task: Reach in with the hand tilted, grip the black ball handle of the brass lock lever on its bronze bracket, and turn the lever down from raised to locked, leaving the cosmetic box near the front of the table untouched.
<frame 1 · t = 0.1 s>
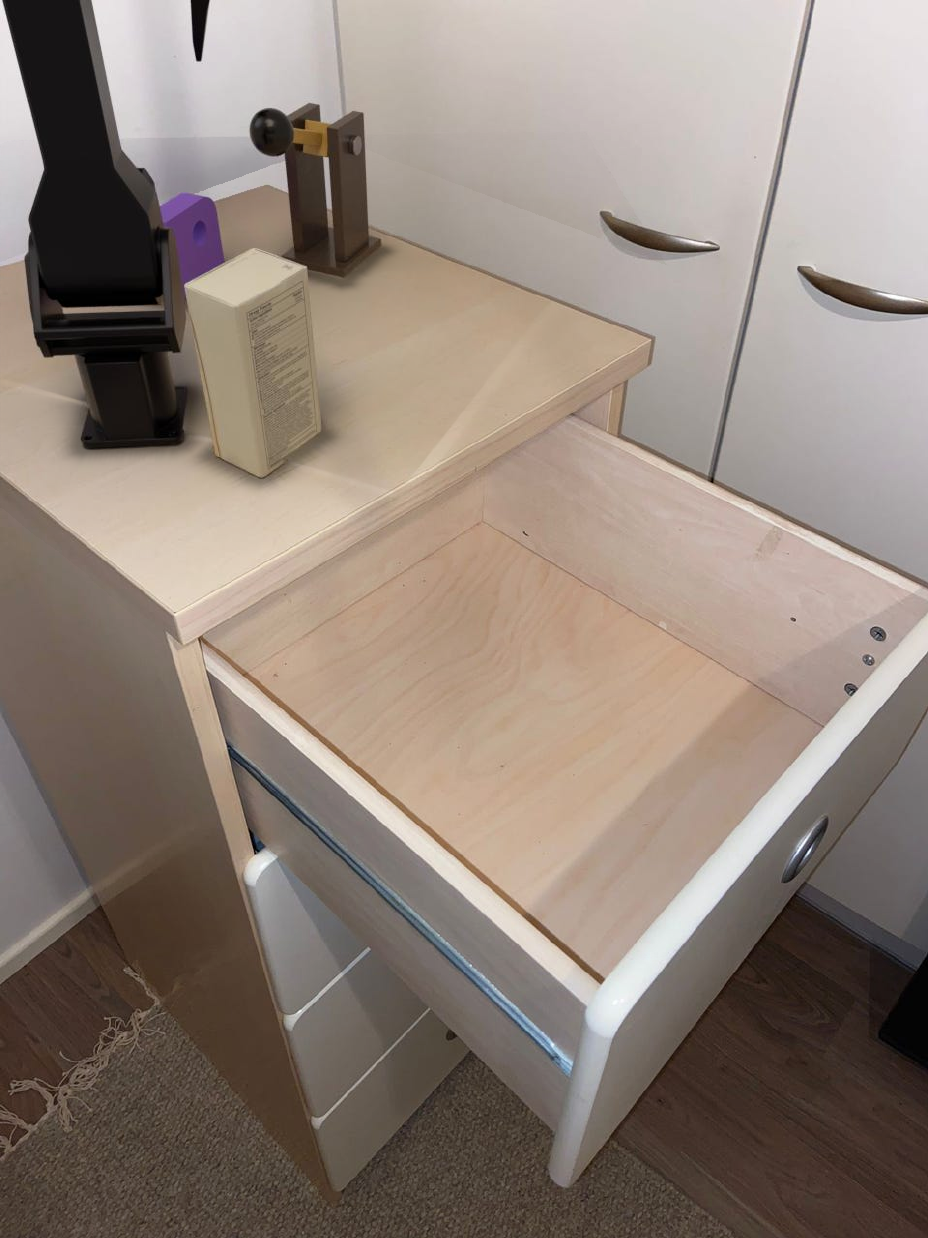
hand: (139, 60, 77), 15 cm above the table, tool pointing down, fingers open, 9 cm apart
bracket: (142, 278, 82), on the table
lock lever: (298, 135, 75), point 11 cm above the table, hinge at 20.0°
lock bracket: (332, 260, 85), on the table
cosmetic box: (270, 450, 65), on the table
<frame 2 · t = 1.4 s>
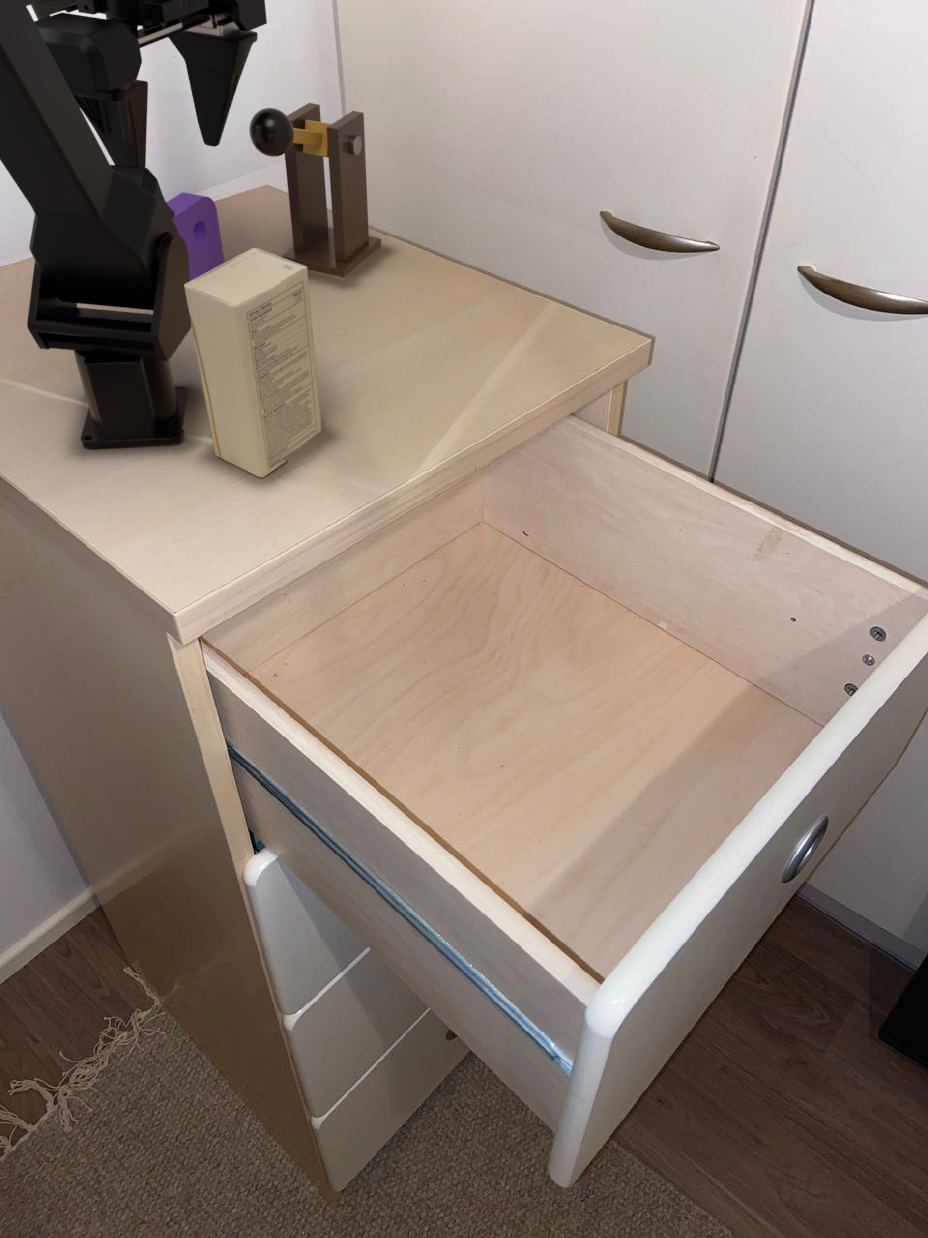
hand: (175, 165, 68), 12 cm above the table, tool pointing down, fingers open, 9 cm apart
nothing on the table moved.
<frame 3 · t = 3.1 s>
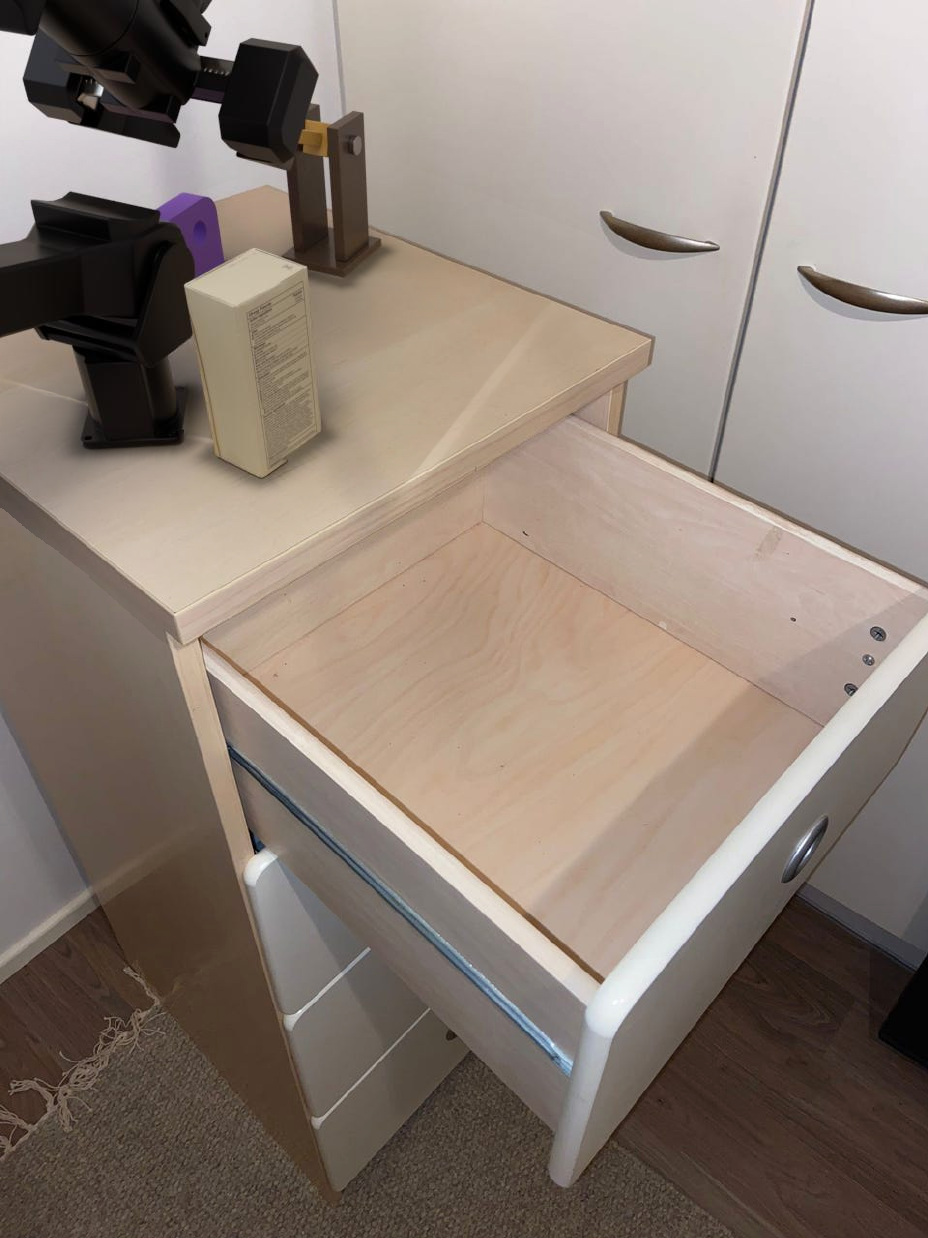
hand: (232, 151, 68), 13 cm above the table, tool tilted 45°, fingers open, 9 cm apart
nothing on the table moved.
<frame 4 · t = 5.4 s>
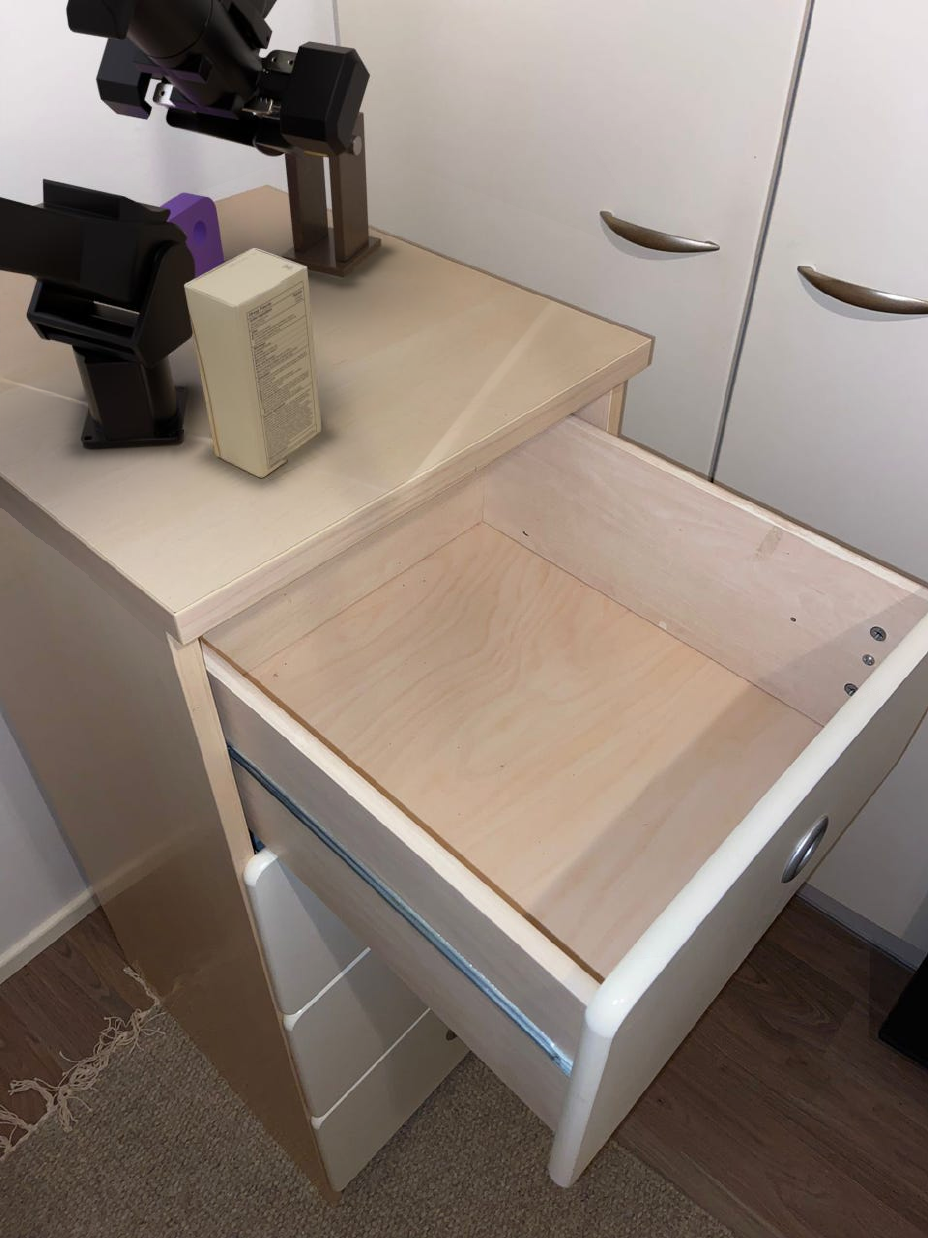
hand: (283, 146, 73), 11 cm above the table, tool tilted 45°, fingers closed on lock lever, 3 cm apart
lock lever: (298, 135, 75), point 11 cm above the table, hinge at 20.0°, touching gripper
everything else where it was.
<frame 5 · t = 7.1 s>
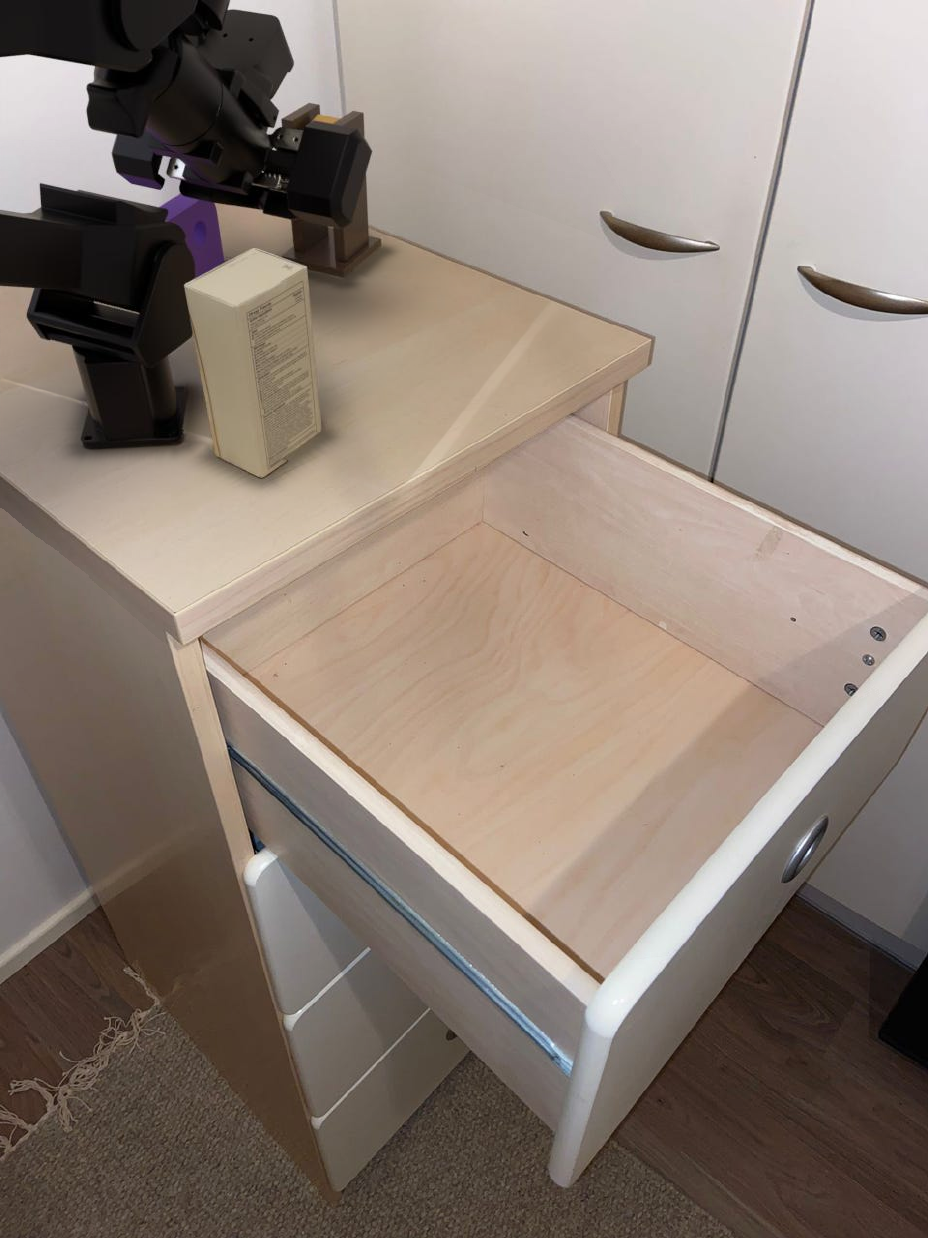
hand: (290, 208, 77), 7 cm above the table, tool tilted 45°, fingers closed on lock lever, 3 cm apart
lock lever: (300, 166, 76), point 9 cm above the table, hinge at -11.3°, touching gripper
everything else where it was.
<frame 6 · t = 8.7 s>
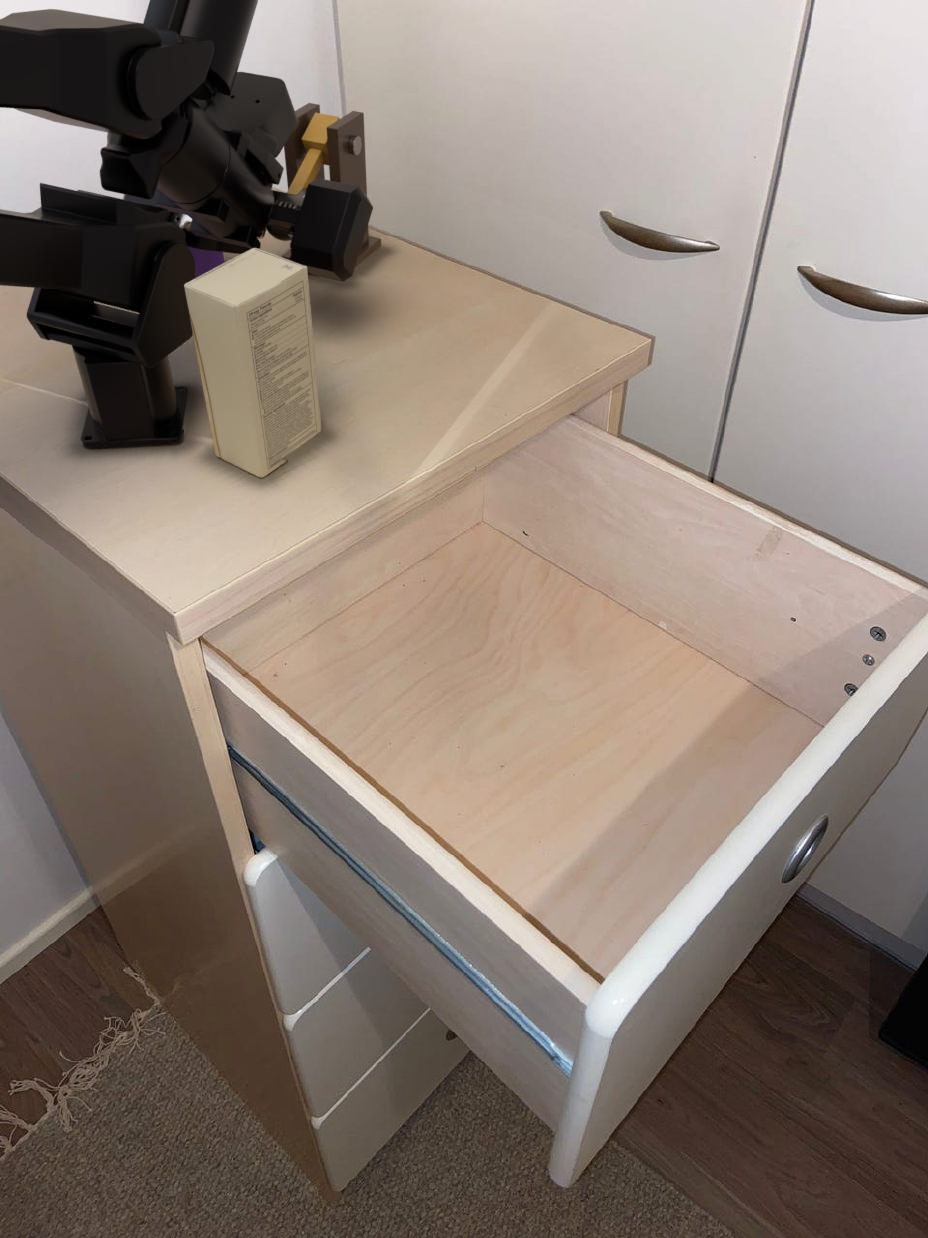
hand: (292, 257, 79), 3 cm above the table, tool tilted 45°, fingers open, 6 cm apart
bracket: (142, 277, 82), on the table, touching gripper
lock lever: (304, 179, 77), point 8 cm above the table, hinge at -28.2°
everything else where it was.
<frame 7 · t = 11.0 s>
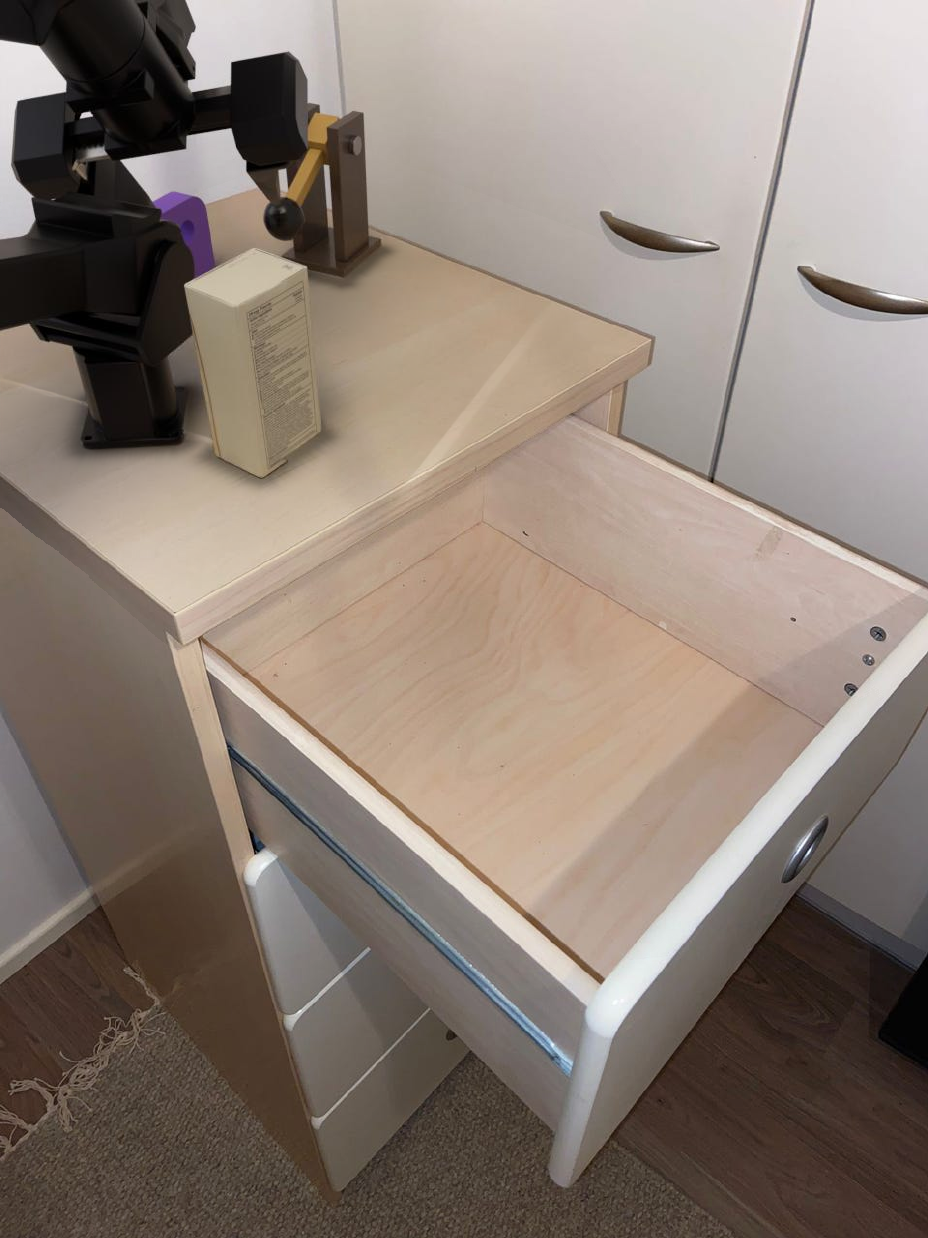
hand: (216, 208, 69), 10 cm above the table, tool tilted 35°, fingers open, 9 cm apart
bracket: (133, 275, 83), on the table
everything else where it was.
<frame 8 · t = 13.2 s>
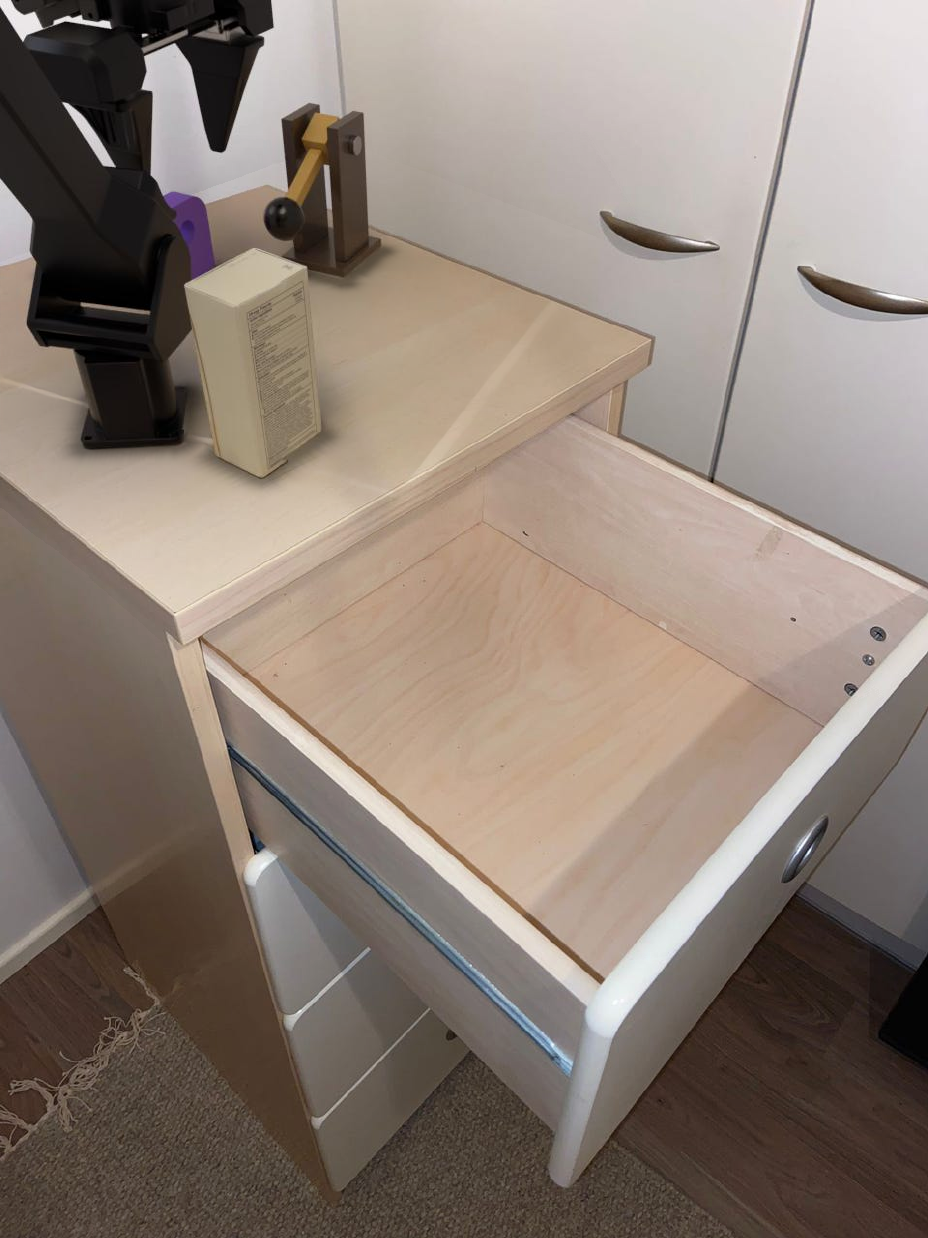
hand: (181, 172, 68), 12 cm above the table, tool pointing down, fingers open, 9 cm apart
nothing on the table moved.
at the end: lock lever at -28° (first picture: +20°); cosmetic box moved 0.2 cm from its start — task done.
